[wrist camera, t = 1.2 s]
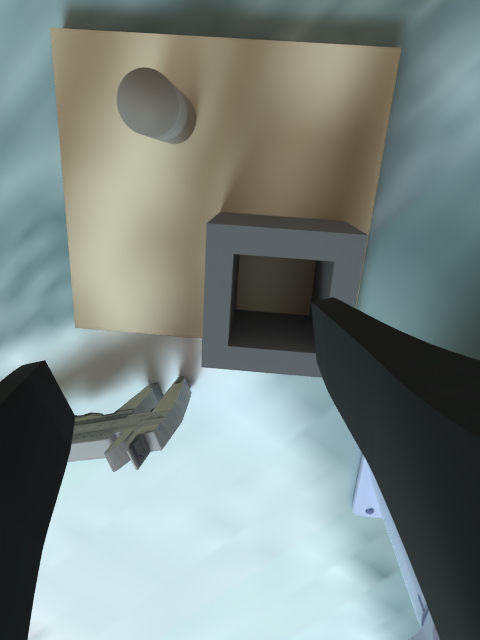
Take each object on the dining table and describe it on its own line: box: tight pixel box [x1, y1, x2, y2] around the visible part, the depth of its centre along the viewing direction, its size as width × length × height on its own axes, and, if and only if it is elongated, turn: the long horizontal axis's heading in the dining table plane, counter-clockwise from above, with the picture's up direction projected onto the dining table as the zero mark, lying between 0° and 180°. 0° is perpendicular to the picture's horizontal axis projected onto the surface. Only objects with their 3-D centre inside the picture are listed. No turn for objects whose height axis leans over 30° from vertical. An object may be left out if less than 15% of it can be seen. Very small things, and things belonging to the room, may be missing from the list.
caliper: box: [68, 377, 191, 472], centre depth 21 cm, size 21×1×6 cm, turn 109°
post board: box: [50, 28, 401, 338], centre depth 17 cm, size 14×13×5 cm
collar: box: [202, 212, 368, 377], centre depth 17 cm, size 6×6×4 cm
